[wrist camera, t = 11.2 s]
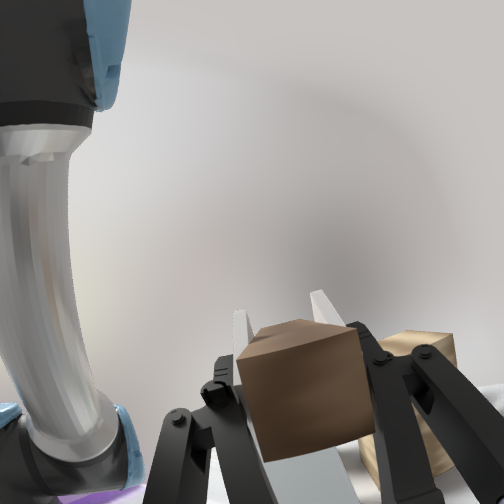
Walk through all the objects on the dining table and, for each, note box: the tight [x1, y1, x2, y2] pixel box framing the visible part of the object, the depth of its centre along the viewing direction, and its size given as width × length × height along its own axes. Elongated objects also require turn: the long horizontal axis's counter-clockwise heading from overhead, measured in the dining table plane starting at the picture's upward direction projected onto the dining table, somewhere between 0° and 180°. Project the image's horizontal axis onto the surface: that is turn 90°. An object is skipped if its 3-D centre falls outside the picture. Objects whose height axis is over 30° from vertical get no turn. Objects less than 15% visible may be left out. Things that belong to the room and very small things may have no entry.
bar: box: [236, 319, 376, 463], centre depth 18 cm, size 4×20×4 cm, turn 176°
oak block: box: [358, 330, 457, 493], centre depth 31 cm, size 12×14×21 cm
